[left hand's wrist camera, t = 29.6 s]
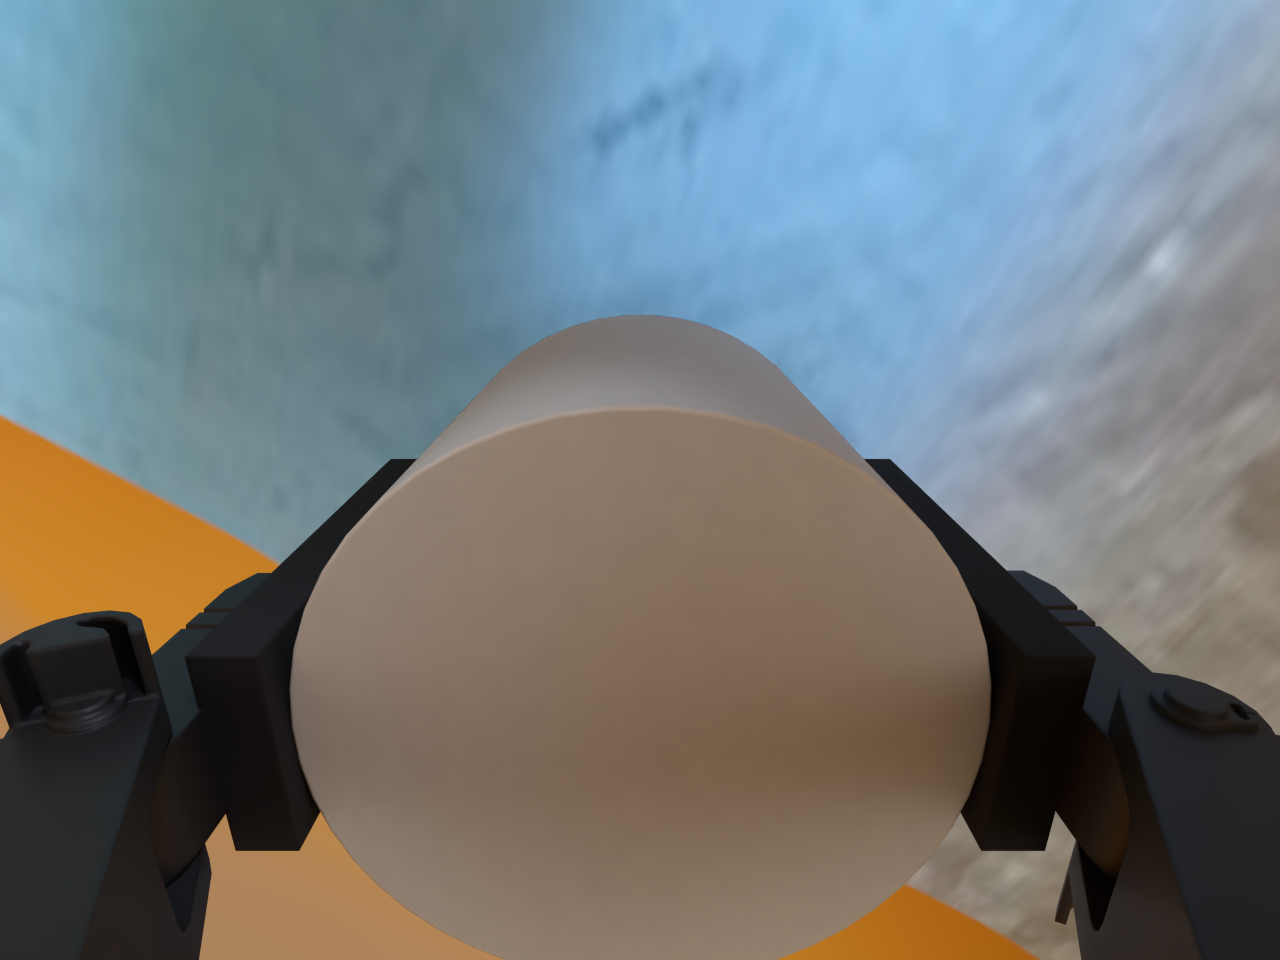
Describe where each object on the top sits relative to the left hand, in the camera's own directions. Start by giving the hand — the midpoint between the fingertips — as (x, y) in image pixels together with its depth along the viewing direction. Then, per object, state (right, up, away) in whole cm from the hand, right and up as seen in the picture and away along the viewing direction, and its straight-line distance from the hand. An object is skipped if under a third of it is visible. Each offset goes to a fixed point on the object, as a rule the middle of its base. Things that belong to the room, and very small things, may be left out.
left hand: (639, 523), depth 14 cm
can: (0, 0, +1) cm, 1 cm away
